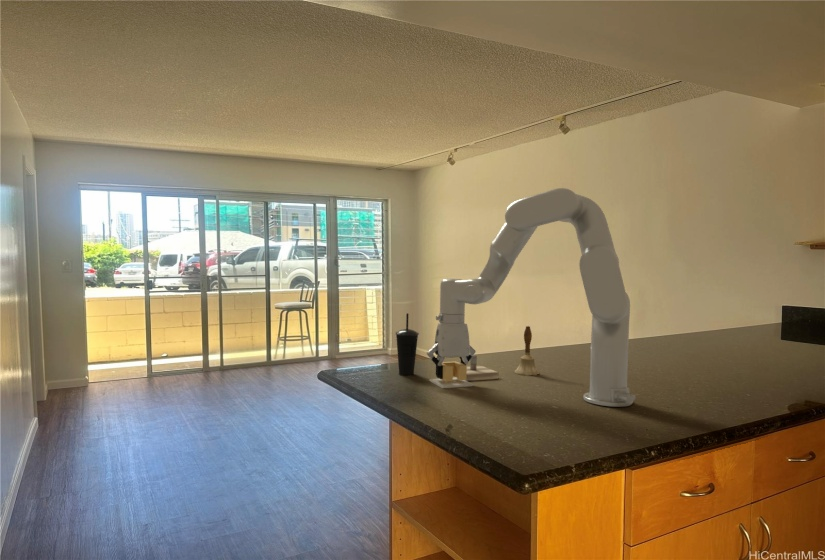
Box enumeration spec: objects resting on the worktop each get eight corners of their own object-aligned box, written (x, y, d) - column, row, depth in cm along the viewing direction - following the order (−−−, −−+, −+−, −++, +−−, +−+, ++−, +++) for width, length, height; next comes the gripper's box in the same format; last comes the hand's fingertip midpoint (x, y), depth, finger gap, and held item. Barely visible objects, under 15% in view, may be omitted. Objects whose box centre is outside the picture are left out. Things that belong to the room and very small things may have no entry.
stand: (498, 378, 173) (499, 358, 173) (465, 380, 169) (465, 359, 169) (480, 371, 185) (480, 352, 184) (448, 373, 180) (449, 353, 180)
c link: (466, 379, 163) (466, 365, 163) (445, 381, 160) (445, 366, 160) (456, 375, 169) (456, 361, 169) (435, 376, 167) (436, 362, 167)
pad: (472, 386, 162) (472, 384, 162) (442, 388, 158) (442, 386, 158) (458, 379, 171) (458, 377, 171) (429, 381, 168) (429, 379, 168)
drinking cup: (418, 372, 181) (420, 312, 181) (416, 376, 174) (418, 314, 173) (396, 371, 182) (397, 312, 181) (393, 376, 174) (394, 314, 174)
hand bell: (541, 375, 179) (543, 328, 178) (516, 375, 179) (517, 327, 179) (536, 370, 187) (537, 325, 187) (512, 370, 187) (513, 324, 187)
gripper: (430, 321, 158) (429, 381, 158) (483, 319, 164) (482, 378, 165) (421, 318, 165) (420, 376, 165) (471, 317, 171) (470, 373, 172)
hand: (451, 376), depth 165 cm, fingers closed on c link, 6 cm apart
